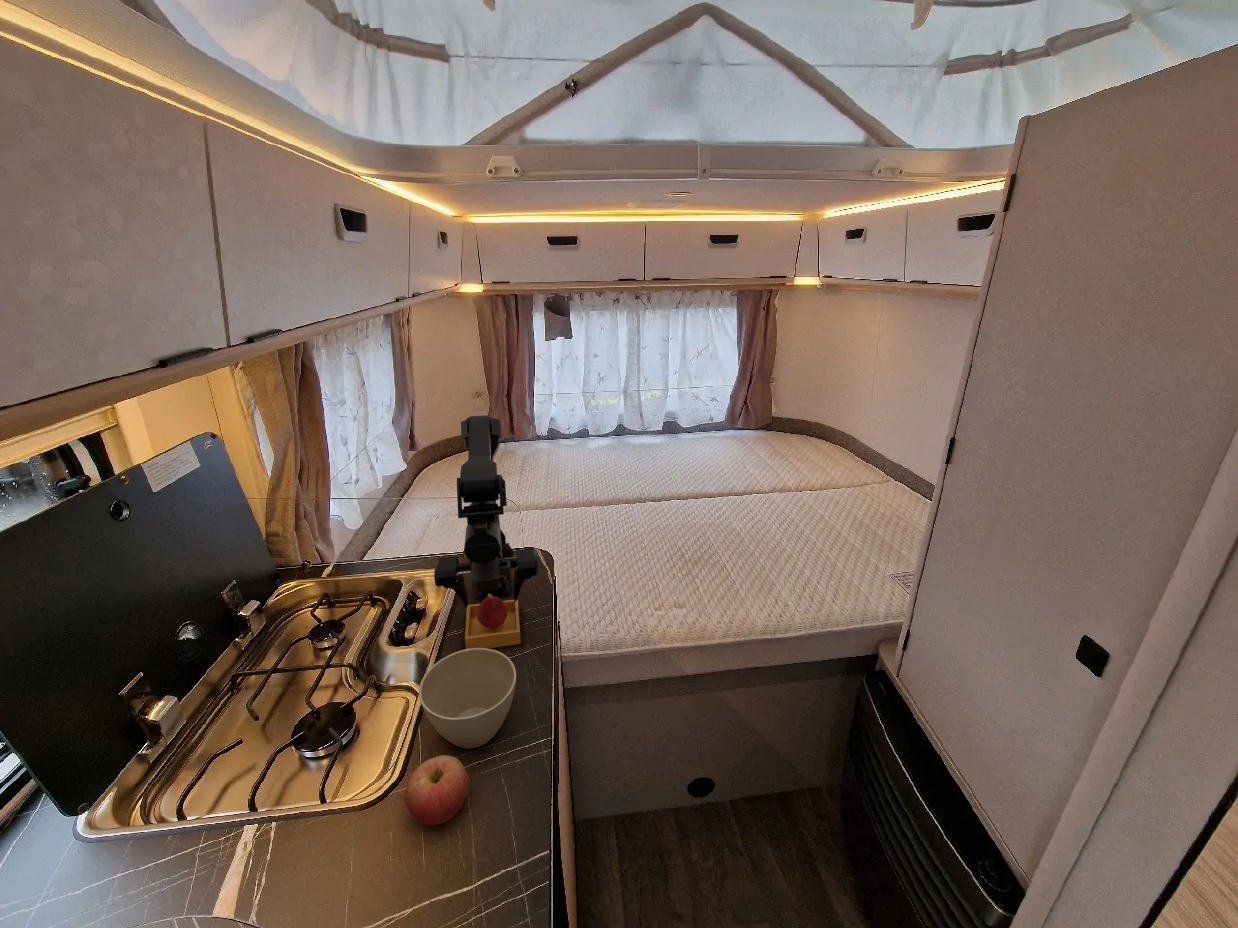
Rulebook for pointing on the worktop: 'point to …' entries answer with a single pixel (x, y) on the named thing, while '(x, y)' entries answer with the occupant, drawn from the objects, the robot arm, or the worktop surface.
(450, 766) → the apple
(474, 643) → the amber tray
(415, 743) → the worktop surface
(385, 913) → the worktop surface
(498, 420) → the robot arm
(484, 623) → the onion
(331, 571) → the worktop surface
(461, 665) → the flower pot
